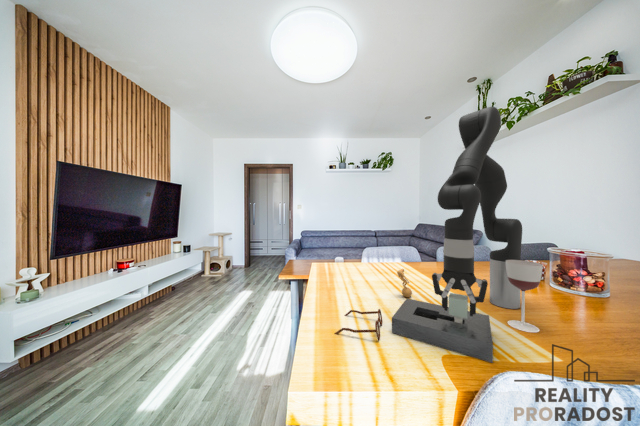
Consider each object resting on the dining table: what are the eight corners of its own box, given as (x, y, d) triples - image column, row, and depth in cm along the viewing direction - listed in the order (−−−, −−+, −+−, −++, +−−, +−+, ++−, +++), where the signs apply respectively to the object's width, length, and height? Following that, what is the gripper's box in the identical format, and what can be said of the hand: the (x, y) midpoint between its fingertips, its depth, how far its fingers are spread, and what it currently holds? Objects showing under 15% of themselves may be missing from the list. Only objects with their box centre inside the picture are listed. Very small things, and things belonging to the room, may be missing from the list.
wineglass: (535, 336, 65) (535, 267, 65) (500, 322, 73) (500, 261, 73) (547, 329, 69) (547, 264, 69) (512, 317, 77) (512, 258, 77)
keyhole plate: (391, 332, 67) (391, 317, 67) (406, 310, 82) (406, 298, 82) (492, 363, 54) (492, 344, 54) (488, 330, 69) (488, 315, 69)
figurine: (416, 300, 91) (416, 271, 91) (402, 301, 91) (402, 271, 91) (406, 293, 100) (406, 266, 100) (393, 293, 99) (393, 266, 99)
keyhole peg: (449, 329, 69) (449, 292, 69) (469, 334, 66) (468, 295, 66) (447, 337, 65) (447, 297, 65) (468, 343, 62) (468, 301, 62)
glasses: (379, 344, 62) (379, 326, 62) (334, 335, 67) (334, 318, 67) (382, 322, 75) (382, 307, 75) (344, 316, 79) (344, 302, 79)
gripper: (488, 254, 64) (488, 313, 64) (432, 250, 72) (432, 302, 73) (490, 259, 58) (490, 324, 58) (428, 253, 66) (428, 311, 66)
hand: (458, 312), depth 65 cm, fingers open, 5 cm apart
